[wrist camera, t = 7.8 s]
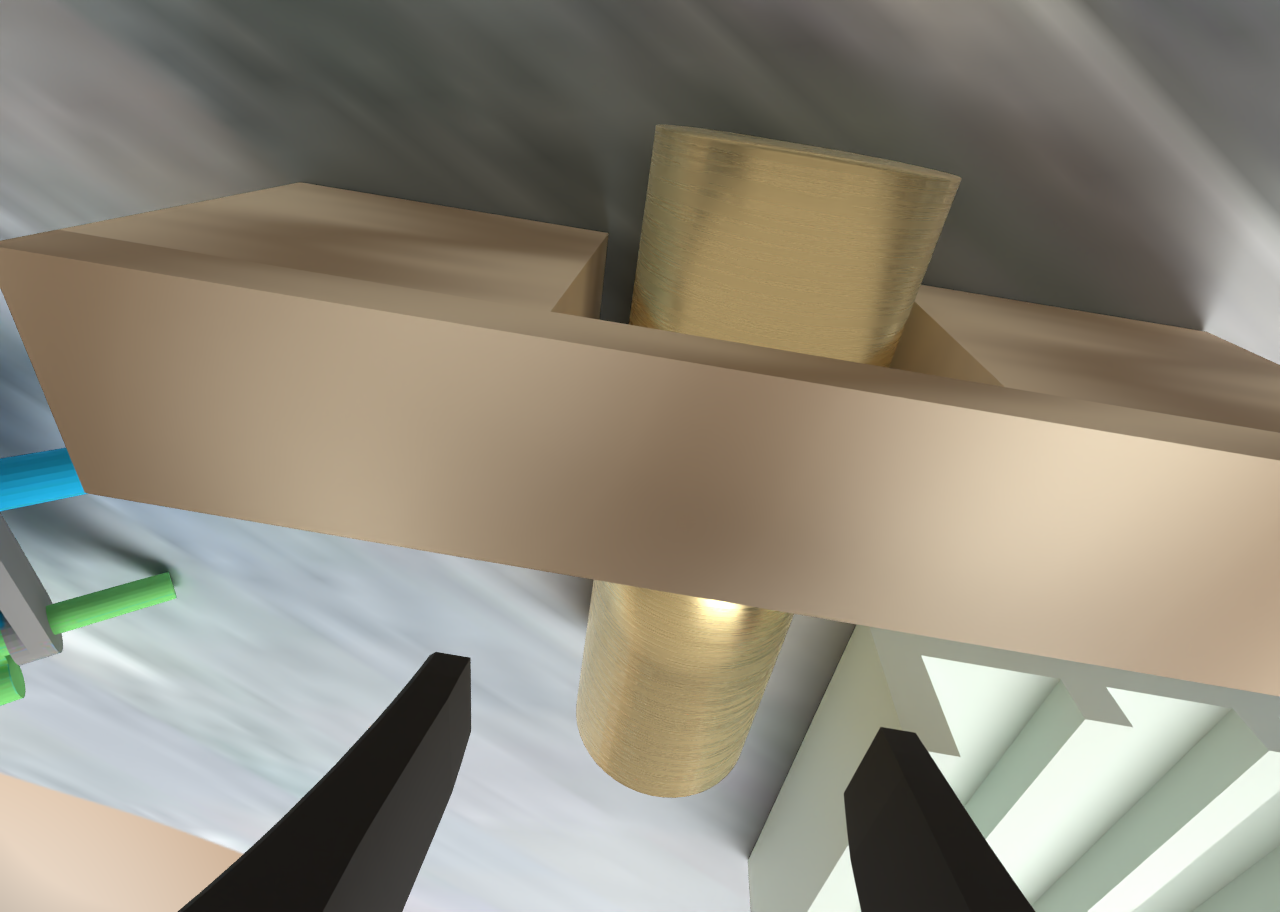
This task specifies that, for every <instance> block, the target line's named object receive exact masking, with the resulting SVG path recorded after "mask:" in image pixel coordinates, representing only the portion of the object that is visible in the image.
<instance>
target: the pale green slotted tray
mask: <svg viewBox="0 0 1280 912" xmlns="http://www.w3.org/2000/svg"><path fill="white" fill-rule="evenodd" d="M880 727H885V728H891V729H897V730H903V731H909V732H915V733H916V734H917V736H918V737H919V739H920V740H921V742H922V743H923V745H924V746H925V748H926V749H927V751H928V752H929V754H930V755H931V757H932V758H933V760H934V762H935V763H936V765H937V766H938V768H939V769H940V771H941V772H942V774H943V775H944V777H945V779H946V780H947V782H948V783H949V785H950V786H951V788H952V789H953V791H954V792H955V794H956V795H957V797H958V799H959V800H960V802H961V803H962V805H963V806H964V808H965V809H966V811H967V812H968V814H969V815H970V817H971V818H972V820H973V821H974V823H975V824H976V826H977V827H978V829H979V830H980V832H981V833H982V835H983V836H984V838H985V839H986V841H987V842H988V844H989V845H990V847H991V848H992V850H993V851H994V853H995V854H996V856H997V857H998V859H999V860H1000V861H1001V863H1002V864H1003V866H1004V867H1005V869H1006V870H1007V872H1008V873H1009V874H1010V876H1011V877H1012V879H1013V880H1014V882H1015V883H1016V885H1017V886H1018V888H1019V889H1020V890H1021V892H1022V893H1023V895H1024V896H1025V898H1026V899H1027V900H1028V902H1029V903H1030V905H1031V906H1032V907H1033V909H1034V910H1035V912H1280V696H1274V695H1268V694H1262V693H1256V692H1251V691H1245V690H1239V689H1233V688H1227V687H1221V686H1215V685H1209V684H1204V683H1198V682H1192V681H1186V680H1180V679H1174V678H1168V677H1162V676H1157V675H1151V674H1145V673H1139V672H1133V671H1127V670H1121V669H1116V668H1110V667H1104V666H1098V665H1092V664H1086V663H1080V662H1074V661H1069V660H1063V659H1057V658H1051V657H1045V656H1039V655H1033V654H1027V653H1022V652H1016V651H1010V650H1004V649H998V648H992V647H986V646H981V645H975V644H969V643H963V642H957V641H951V640H945V639H939V638H934V637H928V636H922V635H916V634H910V633H904V632H898V631H892V630H887V629H881V628H875V627H869V626H863V625H857V624H856V627H855V629H854V631H853V633H852V635H851V637H850V640H849V642H848V644H847V646H846V648H845V651H844V653H843V655H842V657H841V659H840V661H839V664H838V666H837V668H836V670H835V672H834V674H833V677H832V679H831V681H830V683H829V685H828V688H827V690H826V692H825V694H824V696H823V698H822V701H821V703H820V705H819V707H818V709H817V712H816V714H815V716H814V718H813V720H812V722H811V725H810V727H809V729H808V731H807V733H806V736H805V738H804V740H803V742H802V744H801V746H800V749H799V751H798V753H797V755H796V757H795V760H794V762H793V764H792V766H791V768H790V770H789V773H788V775H787V777H786V779H785V781H784V784H783V786H782V788H781V790H780V792H779V794H778V797H777V799H776V801H775V803H774V805H773V808H772V810H771V812H770V814H769V816H768V818H767V821H766V823H765V825H764V827H763V829H762V832H761V834H760V836H759V838H758V840H757V842H756V845H755V847H754V849H753V851H752V853H751V856H750V858H749V860H748V874H749V892H750V909H751V912H861V908H860V903H859V899H858V894H857V889H856V884H855V880H854V875H853V870H852V865H851V860H850V852H849V843H848V835H847V826H846V815H845V804H844V792H845V790H846V788H847V786H848V785H849V783H850V781H851V779H852V777H853V776H854V774H855V772H856V770H857V768H858V766H859V765H860V763H861V761H862V759H863V757H864V756H865V754H866V752H867V750H868V748H869V747H870V745H871V743H872V741H873V739H874V738H875V736H876V734H877V732H878V730H879V729H880Z"/></svg>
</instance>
